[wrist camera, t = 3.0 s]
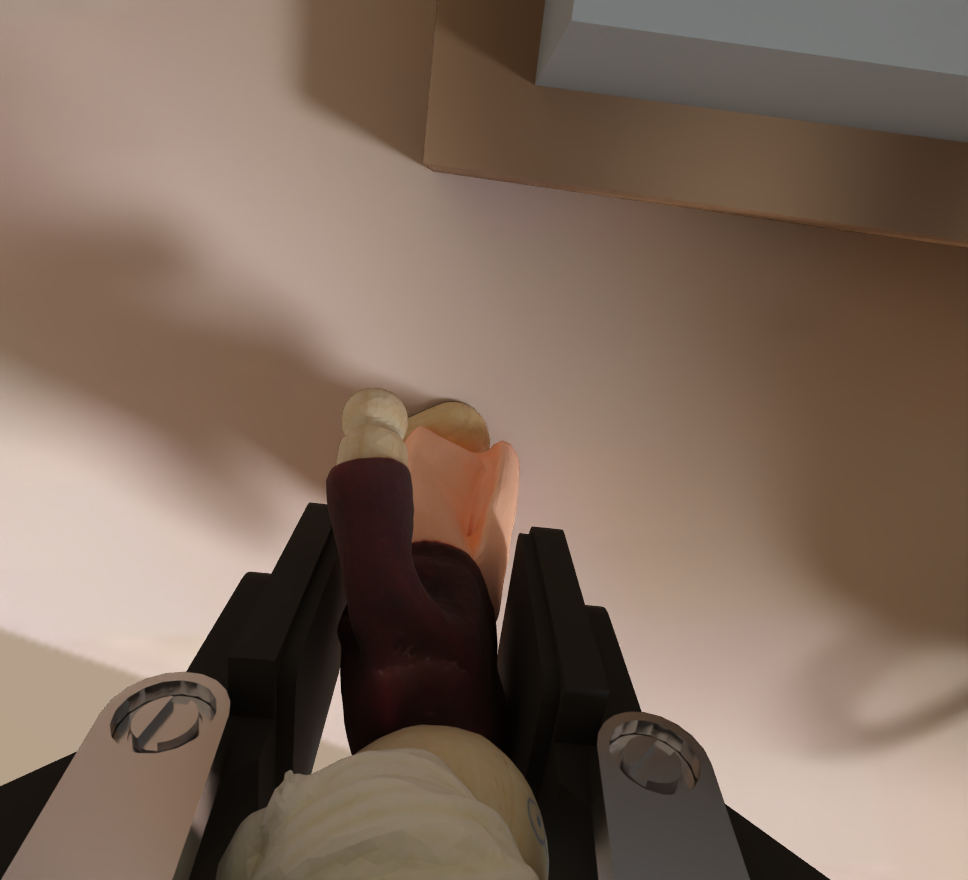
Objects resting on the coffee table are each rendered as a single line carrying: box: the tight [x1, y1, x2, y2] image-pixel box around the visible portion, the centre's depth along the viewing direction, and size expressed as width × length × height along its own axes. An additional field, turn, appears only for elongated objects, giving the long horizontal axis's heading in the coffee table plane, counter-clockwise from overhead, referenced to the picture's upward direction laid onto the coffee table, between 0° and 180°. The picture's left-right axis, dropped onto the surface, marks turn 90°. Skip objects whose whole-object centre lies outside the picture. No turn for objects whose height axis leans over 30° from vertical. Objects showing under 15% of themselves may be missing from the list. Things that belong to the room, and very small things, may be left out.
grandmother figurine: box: [216, 388, 549, 880], centre depth 10 cm, size 8×4×13 cm, turn 21°
